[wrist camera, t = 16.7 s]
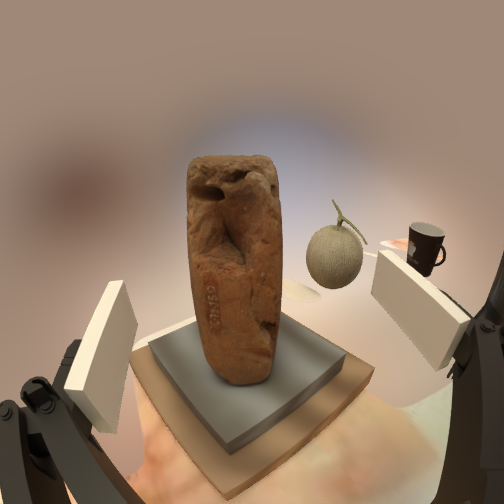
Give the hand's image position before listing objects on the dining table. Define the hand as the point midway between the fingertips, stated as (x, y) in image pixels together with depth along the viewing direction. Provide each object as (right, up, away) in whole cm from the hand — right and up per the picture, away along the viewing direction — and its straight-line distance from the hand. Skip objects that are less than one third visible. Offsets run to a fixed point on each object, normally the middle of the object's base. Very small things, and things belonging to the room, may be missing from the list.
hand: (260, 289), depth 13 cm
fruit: (+15, -5, +38) cm, 41 cm away
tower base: (-1, -14, +18) cm, 23 cm away
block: (-1, -9, +15) cm, 18 cm away
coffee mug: (+37, -3, +40) cm, 54 cm away
